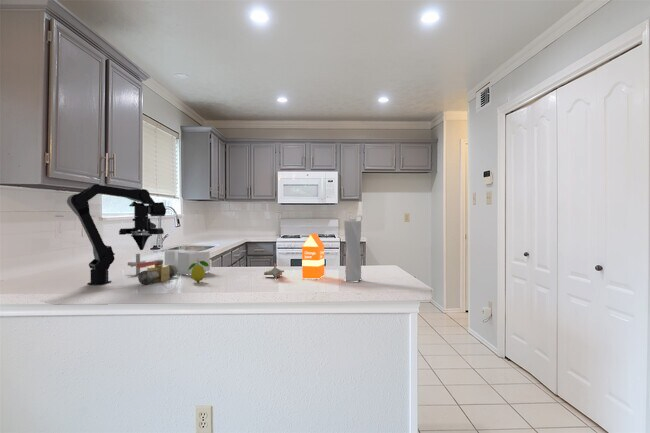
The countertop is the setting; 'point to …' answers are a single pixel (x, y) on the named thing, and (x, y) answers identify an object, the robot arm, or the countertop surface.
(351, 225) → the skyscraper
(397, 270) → the countertop surface
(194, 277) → the lemon
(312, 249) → the orange juice
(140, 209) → the robot arm
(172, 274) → the valve body
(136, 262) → the pipe connector
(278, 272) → the valve
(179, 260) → the storage container
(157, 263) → the lever
